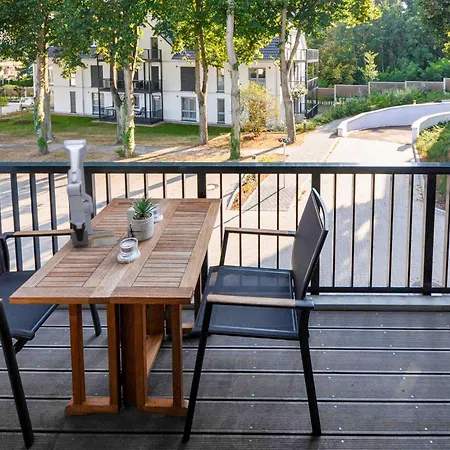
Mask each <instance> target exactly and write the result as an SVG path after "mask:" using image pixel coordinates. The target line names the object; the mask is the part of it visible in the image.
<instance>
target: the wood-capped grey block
mask: <svg viewBox="0 0 450 450" xmlns="http://www.w3.org/2000/svg"><path fill="white" fill-rule="evenodd" d="M70 235H71V243H72V244H71V245H72V246H76V245H77V246H78V245H86V244H89V243H90V239H89V234H88V232H87V231H84V235H83V241H79V242H78V240H77V237H76V234H75V231H72V232H70Z"/></svg>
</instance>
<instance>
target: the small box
mask: <svg viewBox="0 0 450 450" xmlns="http://www.w3.org/2000/svg"><path fill="white" fill-rule="evenodd" d="M133 207H134V205H133V206H131V207H129V209H127V210H126V218H127V219H126V220H127V228H128V227H129V225H130V223H131V220H132V218H133V216H134V215H135V209H134V208H133Z"/></svg>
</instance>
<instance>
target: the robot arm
mask: <svg viewBox="0 0 450 450" xmlns="http://www.w3.org/2000/svg"><path fill="white" fill-rule="evenodd" d="M63 149H64V153H65V155H66V157H67V159H68V158H69V163H70V169H68V171H67V172H68V173H67V174H68V175H67V184H66V194H67V199H68V201H69V202H68V203H69V209H70V220H68V223H69V224H71V226H72V227H71V228H72V230H73V232H75V234H76V237H77V240H78V242H79V241H83V235H84V231H87V232H88V235H91V232H94V230H93V229H94V228H93V225H92V215H91V214H93V213H94V205H93V199H92V196H90V195H89V194H87V193H86V184H85V183H86V181H85V172H84V171H85V170H84V159H85V158H86V157H88V144H87V140H86V139H85V138H84V139H71V140H70V139H68V140H67V139H65V140H64V141H63Z"/></svg>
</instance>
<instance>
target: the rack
mask: <svg viewBox="0 0 450 450" xmlns="http://www.w3.org/2000/svg"><path fill="white" fill-rule="evenodd" d="M88 240H89V243H90V246H91V248H94V247H102V246H111V245H113V246H114V245H117V244H118V243H117V242H118V241H117V236H116V234H115V232H114V229H109V230H102V231H101V230H100V231H99V230H98V231H93V232H91V234H90V236H88Z"/></svg>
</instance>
